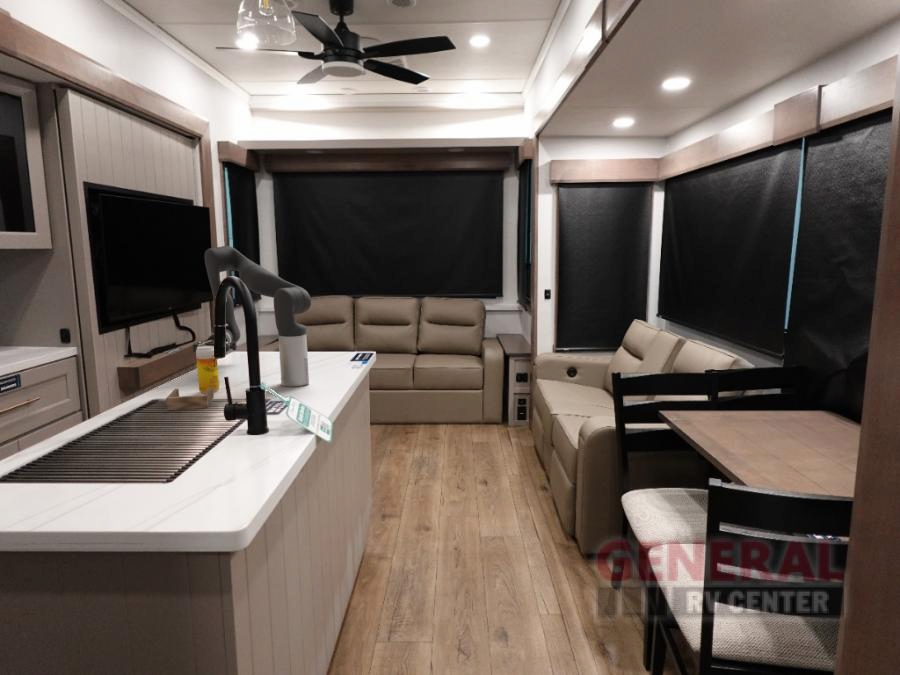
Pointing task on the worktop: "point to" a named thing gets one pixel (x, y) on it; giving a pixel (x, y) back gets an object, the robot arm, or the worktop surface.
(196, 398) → the can holder
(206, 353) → the amber medicine vial
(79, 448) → the worktop surface
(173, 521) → the worktop surface
